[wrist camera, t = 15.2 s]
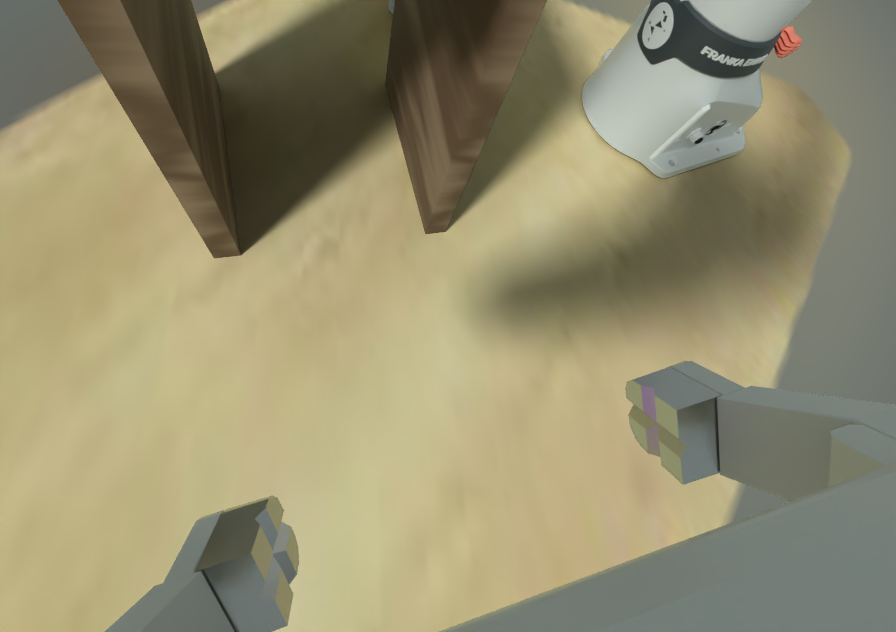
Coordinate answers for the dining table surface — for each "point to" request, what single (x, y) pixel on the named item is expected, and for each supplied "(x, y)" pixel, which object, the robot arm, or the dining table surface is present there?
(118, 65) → the stand
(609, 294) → the dining table surface
